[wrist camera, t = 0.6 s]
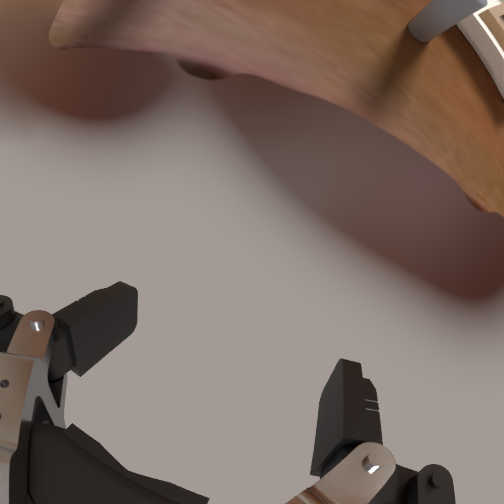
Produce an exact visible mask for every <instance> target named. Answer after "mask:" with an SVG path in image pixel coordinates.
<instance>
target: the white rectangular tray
mask: <svg viewBox="0 0 504 504" xmlns="http://www.w3.org/2000/svg"><path fill="white" fill-rule="evenodd" d="M487 2H488V4H487V6H486V7H484V8H482V9H480V10H478V11H477V12H475V13H473V14H472V15H470V16H468V17H467V18H465V19H463V20H462V21H460V22H458V23H457V24H456V25H457V26H458V28H459V29H460V30H461V31H462V33H463V34H464V35H465V37H466V38H467V40H468V41H469V42H470V44H471V45H472V47H473V48H474V50H475V51H476V52H477V54H478V56H479V57H480V59H481V60H482V62H483V63H484V65H485V67H486V68H487V70H488V72H489V73H490V75H491V77H492V78H493V80H494V82H495V84H496V86H497V87H498V89H499V91H500V93H501V95H502V97H503V99H504V0H487Z"/></svg>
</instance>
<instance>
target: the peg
mask: <svg viewBox="0 0 504 504" xmlns="http://www.w3.org/2000/svg"><path fill="white" fill-rule="evenodd" d="M487 4H488V2H487V0H432V1H431V2H430V3H429V4H428V5H427V6H426V7H425V8H424V9H423V10H421V11H420V12H419V13H418V14H417V15H416V16H415V17H414V18H413V19H412V20H411V21H410V22H409V23H408V29H409V31H410V33H411V34H412V36H413V37H414V38H416V39H417V40H419V41H421V42H429V41H430V40H432V39H433V38H435V37H436V36H438V35H439V34H441V33H442V32H444V31H446V30H447V29H449V28H450V27H452V26H453V25H455V24H457V23H458V22H460V21H462V20H463V19H465V18H467V17H468V16H470V15H472V14H473V13H475V12H477V11H478V10H480V9H482V8H484V7H486V6H487Z"/></svg>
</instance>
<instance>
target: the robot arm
mask: <svg viewBox="0 0 504 504" xmlns="http://www.w3.org/2000/svg"><path fill="white" fill-rule="evenodd" d="M137 306H138V291H137V289H136V288H135V287H132V286H130V285H128V284H126V283H123V282H121V281H120V282H117V283H115V284H113V285H111V286H110V287H108V288H104V289H99V290H95V291H93V292H92V293H90V294H88V295H86V297H83V298H81V299H79V301H75V302H73V303H72V304H70V305H68V306H66V307H65V308H63V309H61V310H59V311H57V312H56V313H54V314H52V315H51V314H50V313H48V312H46V311H42V310H36V311H31V312H29V313H27V314H25V315H22V314H20V313H18V312H15V311H14V307H13V303H12V300H11V299H10V298H9V297H7V296H3V295H0V504H207V503H208V501H209V498H207V497H204V496H202V495H199V494H196V493H194V492H191V491H189V490H186V489H184V488H182V487H179V486H177V485H175V484H172V483H170V482H166V481H162V480H158V479H154V478H150V477H147V476H143V475H140V474H136V473H133V472H131V471H128V470H127V469H125V468H124V467H123V466H122V465H121V464H120V463H119V462H118V461H117V460H116V459H115V458H114V457H113V456H112V455H111V454H110V453H109V452H108V451H107V450H106V449H105V448H104V447H103V446H102V445H101V444H100V443H99V442H97V441H96V440H94V439H93V438H92V437H90V436H89V435H87V434H86V433H85V432H83V431H82V430H81V429H79V428H78V427H77V426H75V425H74V424H73V423H72V424H71V425H70V426H69V427H68V428H67V429H66V425H65V421H64V406H65V396H66V387H67V372H68V371H70V370H72V371H73V372H74V373H76V374H77V375H78V376H80V377H81V376H82V375H83V374H84V373H86V372H87V371H88V370H89V369H90V368H91V367H92V366H94V365H95V364H96V363H97V362H99V361H100V360H101V359H102V358H103V357H105V356H106V355H107V354H108V353H109V352H110V351H112V350H113V349H114V348H115V347H116V346H118V345H119V344H120V343H121V342H122V341H123V340H125V339H126V338H127V337H128V336H130V335H131V334H132V333H133V331H134V330H135V327H136V325H137ZM377 401H378V399H377V392H376V389H375V387H374V386H373V384H372V382H371V381H370V379H366V378H363V377H362V369H361V364H360V363H358V362H354V361H349V360H345V359H340V360H339V361H338V363H337V365H336V367H335V369H334V371H333V372H332V374H331V376H330V378H329V380H328V382H327V384H326V386H325V387H324V389H323V392H322V395H321V398H320V402H319V410H318V420H317V428H316V436H315V444H314V452H313V458H312V465H311V471H310V475H313V476H319V477H320V480H319V481H317V482H316V483H315V484H314V485H313V486H311V487H310V488H307V489H306V490H304V491H303V492H301V493H300V494H298V495H297V496H295V497H294V498H293V499H291V500H290V501H289V502H287V503H285V504H455V494H454V486H453V480H452V476H451V474H450V473H449V471H448V470H447V469H446V468H444V467H443V466H440V465H436V464H430V465H427V466H425V467H424V468H423V469H421V470H420V471H419V472H417V471H414V470H411V469H408V468H405V467H402V466H400V465H397V464H396V462H395V458H394V455H393V454H392V452H391V451H390V450H389V449H388V448H386V447H385V446H383V442H382V432H381V423H380V414H379V412H378V410H379V407H378V403H377Z"/></svg>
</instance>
